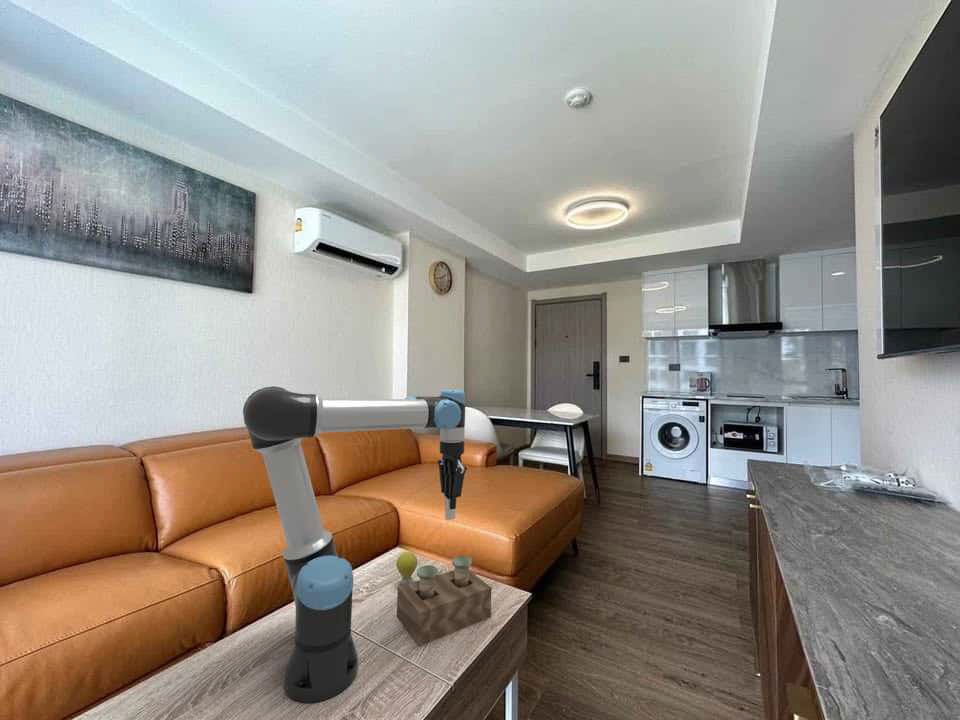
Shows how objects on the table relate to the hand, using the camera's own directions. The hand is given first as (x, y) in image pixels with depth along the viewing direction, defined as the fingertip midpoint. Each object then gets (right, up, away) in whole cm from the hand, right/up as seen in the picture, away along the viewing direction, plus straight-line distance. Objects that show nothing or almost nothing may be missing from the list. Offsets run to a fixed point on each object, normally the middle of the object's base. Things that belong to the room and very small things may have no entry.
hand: (450, 518), depth 118 cm
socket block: (-1, -23, -10) cm, 25 cm away
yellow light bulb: (-14, -24, +6) cm, 29 cm away
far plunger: (+4, -18, -7) cm, 20 cm away
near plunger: (-5, -18, -13) cm, 23 cm away
